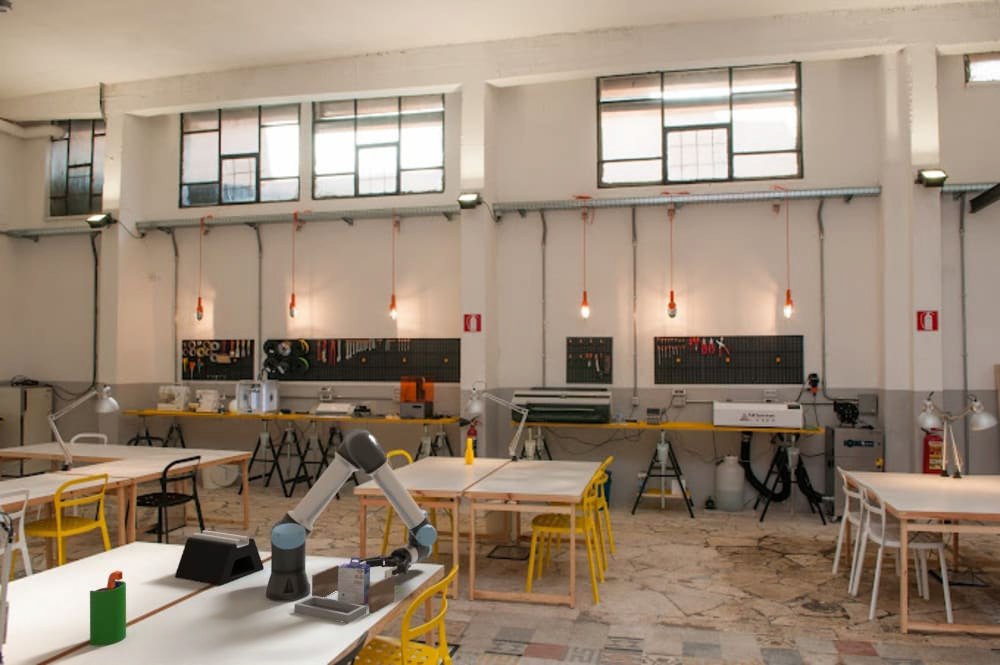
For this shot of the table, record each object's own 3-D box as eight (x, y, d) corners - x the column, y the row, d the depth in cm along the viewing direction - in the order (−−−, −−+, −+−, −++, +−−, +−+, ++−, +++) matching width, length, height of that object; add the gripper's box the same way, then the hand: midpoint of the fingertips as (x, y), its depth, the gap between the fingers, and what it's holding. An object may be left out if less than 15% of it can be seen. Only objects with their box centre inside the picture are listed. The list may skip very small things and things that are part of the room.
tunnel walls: (311, 601, 255) (312, 575, 255) (336, 590, 266) (336, 565, 266) (371, 613, 243) (371, 586, 244) (394, 601, 255) (394, 575, 255)
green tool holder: (101, 632, 226) (102, 566, 227) (131, 632, 227) (132, 566, 227) (85, 646, 216) (86, 577, 217) (117, 645, 217) (118, 576, 217)
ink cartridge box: (370, 599, 257) (371, 557, 257) (364, 605, 252) (365, 562, 252) (343, 597, 259) (344, 555, 259) (337, 602, 254) (337, 560, 254)
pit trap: (294, 611, 245) (294, 604, 245) (313, 602, 253) (313, 595, 253) (348, 623, 235) (348, 615, 235) (366, 613, 243) (366, 606, 243)
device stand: (220, 562, 300) (221, 525, 301) (263, 570, 291) (264, 531, 291) (175, 578, 280) (175, 538, 280) (219, 586, 270) (220, 545, 271)
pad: (350, 590, 266) (350, 589, 266) (370, 581, 277) (370, 580, 277) (387, 597, 259) (387, 596, 259) (406, 587, 269) (406, 587, 269)
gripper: (431, 571, 276) (399, 588, 257) (376, 562, 287) (341, 578, 268) (431, 551, 276) (399, 566, 257) (376, 543, 287) (341, 557, 268)
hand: (369, 572), depth 263 cm, fingers open, 13 cm apart
